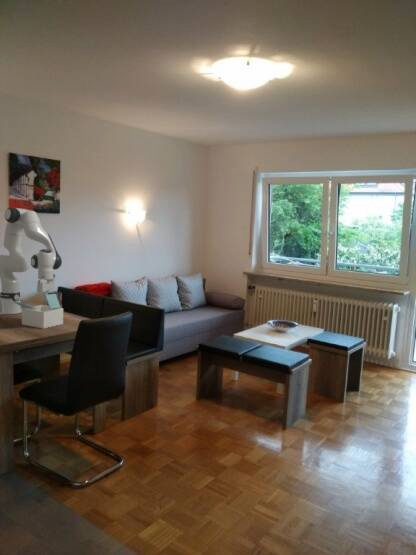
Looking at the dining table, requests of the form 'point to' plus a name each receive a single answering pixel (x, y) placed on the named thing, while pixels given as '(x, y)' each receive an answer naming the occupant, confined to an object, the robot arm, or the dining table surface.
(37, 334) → the dining table surface
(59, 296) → the coffee box
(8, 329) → the dining table surface
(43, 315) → the carton
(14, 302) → the teal flap long
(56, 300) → the teal flap short
